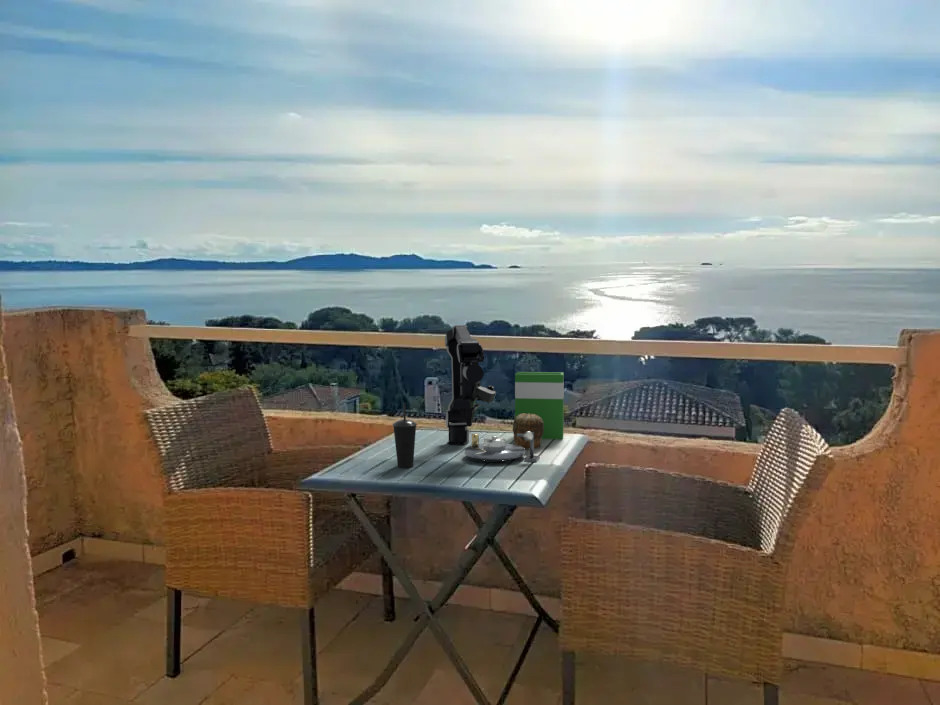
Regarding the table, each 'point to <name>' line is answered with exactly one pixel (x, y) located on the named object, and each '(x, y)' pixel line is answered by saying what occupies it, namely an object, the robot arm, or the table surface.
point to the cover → (494, 444)
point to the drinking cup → (405, 440)
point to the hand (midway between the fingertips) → (469, 426)
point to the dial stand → (530, 437)
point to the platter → (480, 453)
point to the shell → (528, 429)
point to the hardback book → (542, 399)
